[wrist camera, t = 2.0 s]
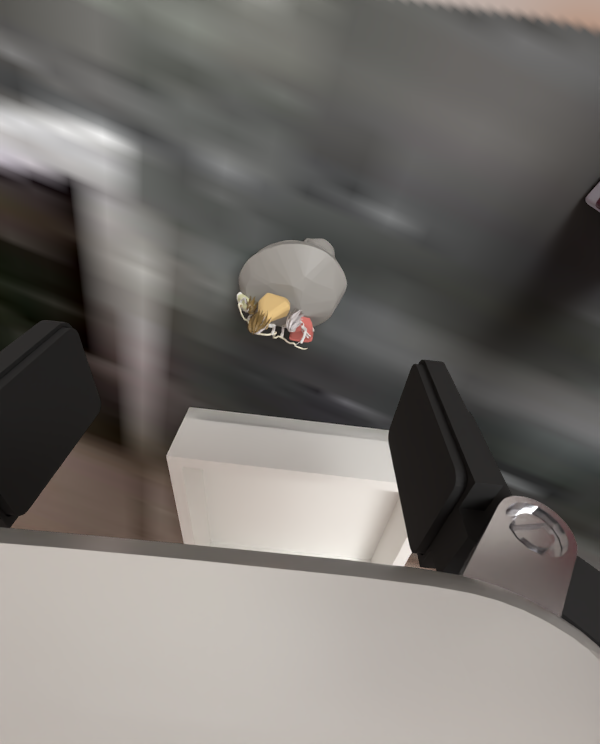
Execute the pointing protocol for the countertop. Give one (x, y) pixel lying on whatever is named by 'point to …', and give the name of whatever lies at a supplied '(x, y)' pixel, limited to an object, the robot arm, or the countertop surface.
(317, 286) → the figurine
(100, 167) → the countertop surface
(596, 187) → the supplement box
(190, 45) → the countertop surface
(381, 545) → the bin
